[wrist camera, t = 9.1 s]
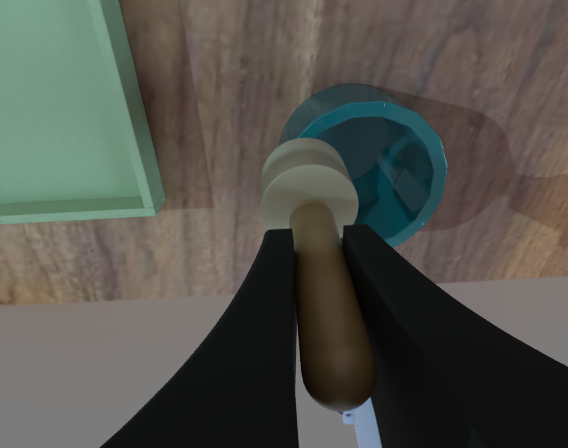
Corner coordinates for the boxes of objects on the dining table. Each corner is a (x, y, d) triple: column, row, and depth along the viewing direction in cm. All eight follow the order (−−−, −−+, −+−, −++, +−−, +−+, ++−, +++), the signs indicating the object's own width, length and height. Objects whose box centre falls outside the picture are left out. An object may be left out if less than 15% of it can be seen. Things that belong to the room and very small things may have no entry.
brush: (343, 211, 15) (423, 447, 7) (265, 215, 15) (259, 457, 7) (347, 135, 13) (459, 336, 5) (258, 139, 13) (241, 349, 5)
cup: (405, 211, 21) (432, 252, 17) (281, 217, 21) (282, 260, 17) (423, 79, 17) (462, 96, 14) (273, 87, 17) (273, 106, 14)
